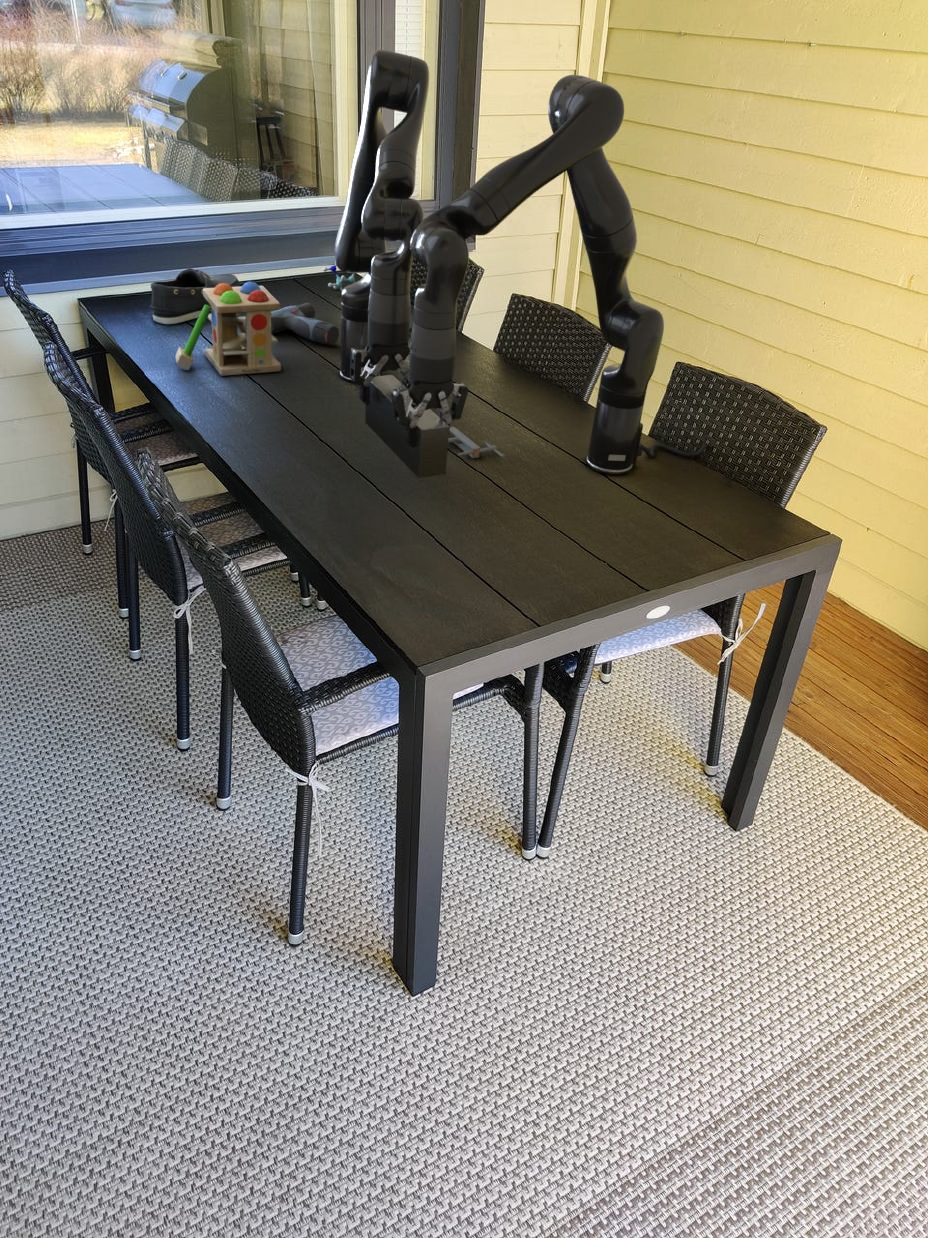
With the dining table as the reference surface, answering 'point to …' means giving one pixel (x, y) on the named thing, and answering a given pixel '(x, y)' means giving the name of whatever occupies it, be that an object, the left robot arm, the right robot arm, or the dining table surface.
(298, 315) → the power drill
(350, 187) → the left robot arm
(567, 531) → the dining table surface
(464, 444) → the clamp
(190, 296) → the boat shoe
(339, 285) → the molecular model
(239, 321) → the pounding bench toy
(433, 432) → the bar
